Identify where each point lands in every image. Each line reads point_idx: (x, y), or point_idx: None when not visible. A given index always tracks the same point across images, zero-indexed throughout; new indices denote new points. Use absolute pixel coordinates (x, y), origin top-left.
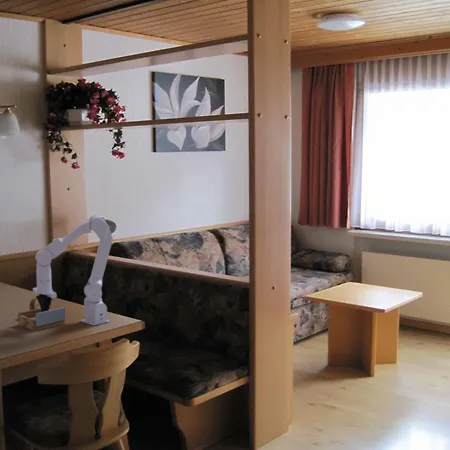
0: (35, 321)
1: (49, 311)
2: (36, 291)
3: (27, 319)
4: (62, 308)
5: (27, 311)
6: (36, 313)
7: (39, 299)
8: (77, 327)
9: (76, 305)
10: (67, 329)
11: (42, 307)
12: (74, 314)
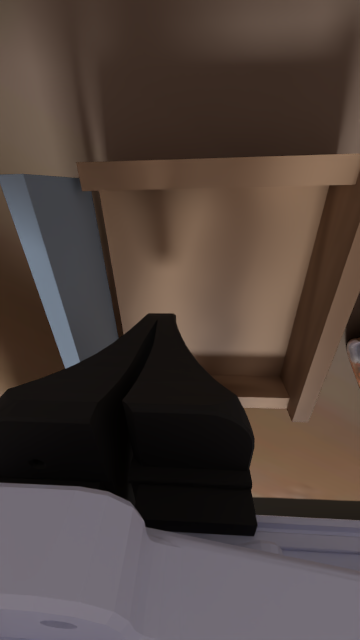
0: (84, 183)
1: (55, 334)
2: (97, 637)
3: (198, 159)
4: None
5: (352, 262)
6: (13, 185)
7: (135, 388)
8: (42, 367)
9: (327, 495)
10: (32, 325)
11: (134, 334)
12: None
